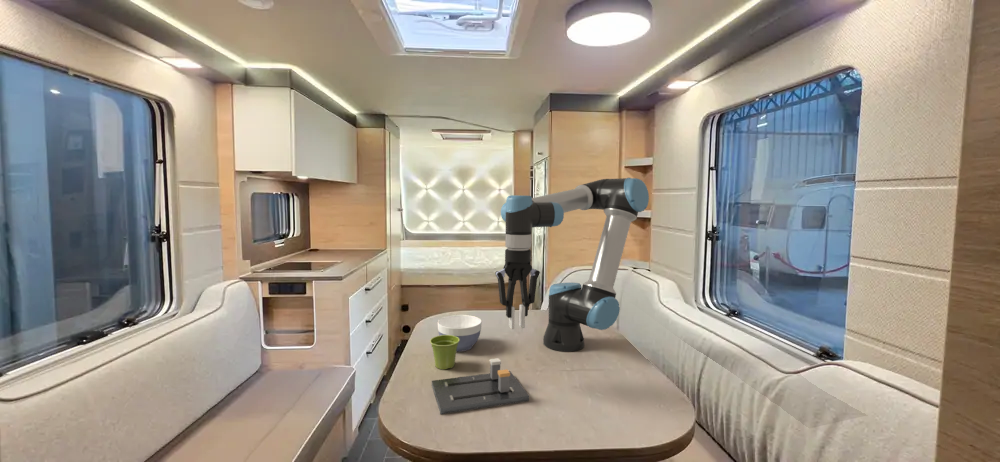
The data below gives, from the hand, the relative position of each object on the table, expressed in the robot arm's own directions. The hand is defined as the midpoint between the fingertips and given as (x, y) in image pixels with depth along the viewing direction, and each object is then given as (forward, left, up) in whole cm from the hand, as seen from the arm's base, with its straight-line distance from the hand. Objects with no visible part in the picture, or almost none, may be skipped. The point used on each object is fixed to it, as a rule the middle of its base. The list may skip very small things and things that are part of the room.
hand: (516, 327), depth 119 cm
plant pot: (+19, -16, -17) cm, 30 cm away
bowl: (+11, -32, -17) cm, 37 cm away
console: (+13, +4, -17) cm, 21 cm away
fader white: (+6, 0, -15) cm, 16 cm away
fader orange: (+7, +8, -15) cm, 18 cm away
